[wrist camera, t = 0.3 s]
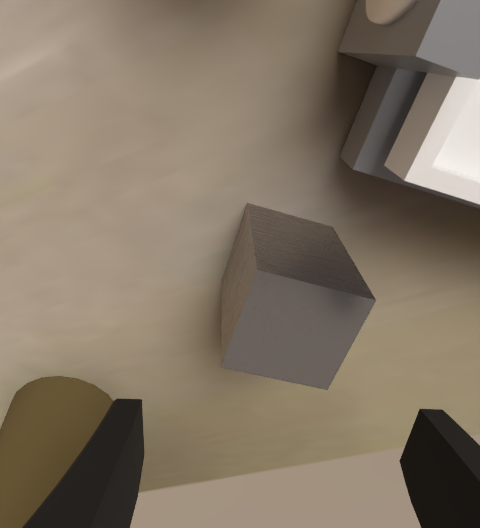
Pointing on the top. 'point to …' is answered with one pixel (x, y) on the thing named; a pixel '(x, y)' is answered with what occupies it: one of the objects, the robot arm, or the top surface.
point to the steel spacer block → (290, 299)
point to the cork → (44, 441)
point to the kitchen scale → (418, 95)
